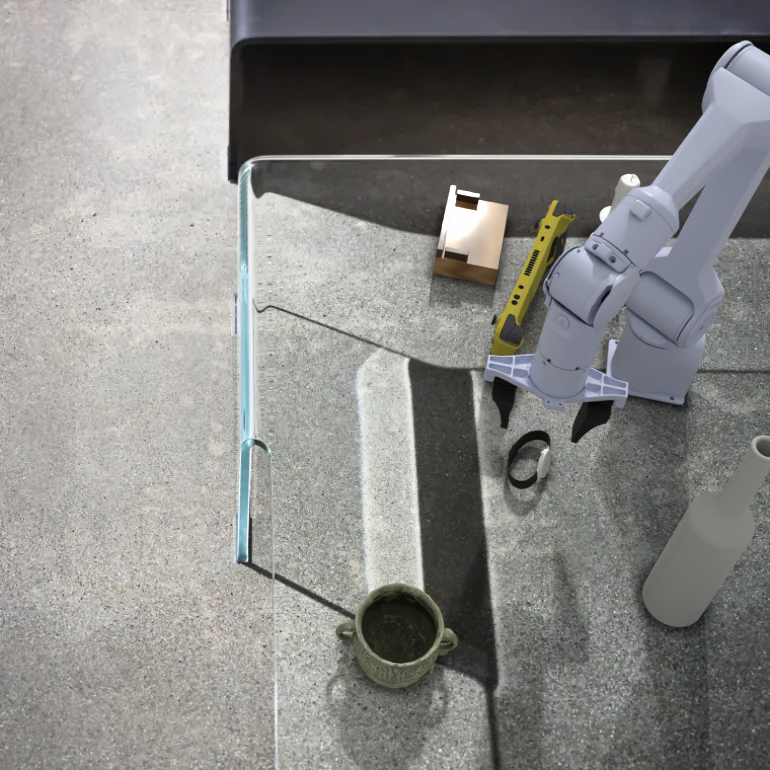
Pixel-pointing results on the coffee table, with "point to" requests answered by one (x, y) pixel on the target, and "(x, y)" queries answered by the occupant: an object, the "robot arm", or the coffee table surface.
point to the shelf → (471, 238)
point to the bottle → (706, 544)
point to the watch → (542, 464)
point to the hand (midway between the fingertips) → (539, 428)
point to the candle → (620, 193)
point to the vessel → (397, 635)
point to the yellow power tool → (531, 277)
